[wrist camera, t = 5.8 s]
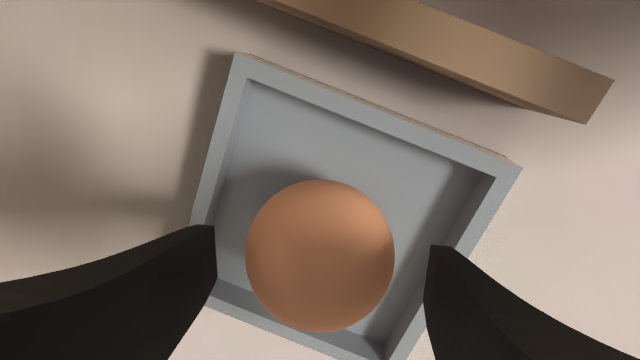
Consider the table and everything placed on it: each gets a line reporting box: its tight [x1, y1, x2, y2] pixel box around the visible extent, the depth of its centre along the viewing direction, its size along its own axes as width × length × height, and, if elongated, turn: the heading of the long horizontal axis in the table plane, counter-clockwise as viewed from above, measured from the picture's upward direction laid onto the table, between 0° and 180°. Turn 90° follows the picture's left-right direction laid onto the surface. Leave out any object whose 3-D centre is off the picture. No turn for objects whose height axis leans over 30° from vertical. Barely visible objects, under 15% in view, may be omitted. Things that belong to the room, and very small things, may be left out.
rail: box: [256, 0, 614, 124], centre depth 11 cm, size 14×1×4 cm, turn 69°
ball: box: [245, 179, 395, 333], centre depth 12 cm, size 5×5×5 cm
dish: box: [188, 53, 523, 360], centre depth 14 cm, size 10×10×2 cm
